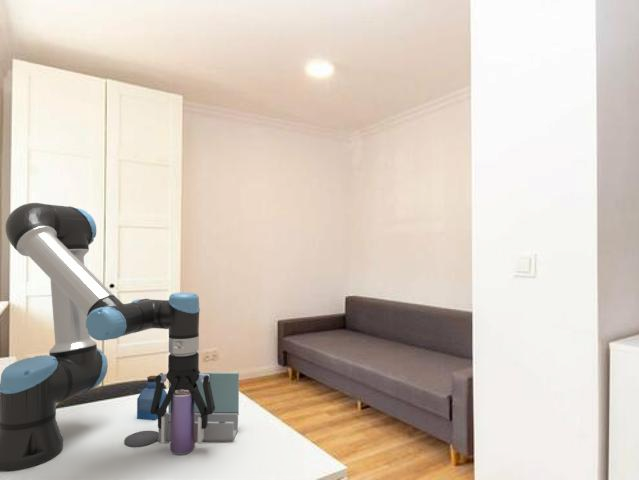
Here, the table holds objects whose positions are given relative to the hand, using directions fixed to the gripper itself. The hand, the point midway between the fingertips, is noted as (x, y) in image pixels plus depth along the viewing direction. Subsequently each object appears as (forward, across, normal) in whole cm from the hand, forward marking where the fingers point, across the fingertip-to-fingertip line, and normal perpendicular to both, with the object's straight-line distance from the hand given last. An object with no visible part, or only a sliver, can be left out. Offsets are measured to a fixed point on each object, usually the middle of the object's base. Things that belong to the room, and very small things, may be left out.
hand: (182, 440), depth 105 cm
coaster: (+2, -13, +6) cm, 15 cm away
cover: (-8, +2, +11) cm, 14 cm away
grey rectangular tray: (+2, +2, +8) cm, 9 cm away
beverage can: (+3, 0, 0) cm, 3 cm away
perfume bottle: (+3, -17, +22) cm, 28 cm away
